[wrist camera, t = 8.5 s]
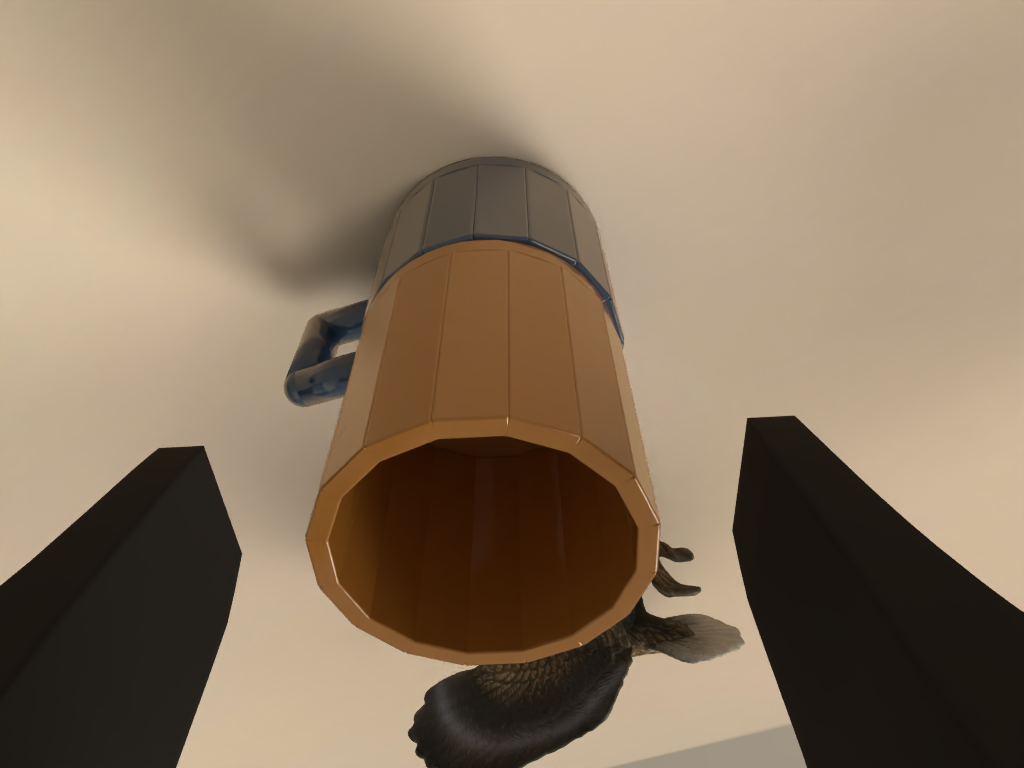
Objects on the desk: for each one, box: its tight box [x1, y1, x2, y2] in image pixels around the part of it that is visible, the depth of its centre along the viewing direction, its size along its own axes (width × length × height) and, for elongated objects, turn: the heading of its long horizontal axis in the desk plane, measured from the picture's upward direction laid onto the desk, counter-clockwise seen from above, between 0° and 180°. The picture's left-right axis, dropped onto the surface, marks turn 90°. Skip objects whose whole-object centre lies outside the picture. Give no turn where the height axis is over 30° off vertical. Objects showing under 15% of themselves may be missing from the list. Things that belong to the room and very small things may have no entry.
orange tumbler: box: [305, 240, 661, 665], centre depth 15 cm, size 5×5×6 cm
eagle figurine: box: [408, 541, 745, 768], centre depth 25 cm, size 8×7×9 cm
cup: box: [284, 157, 624, 407], centre depth 19 cm, size 8×5×4 cm
